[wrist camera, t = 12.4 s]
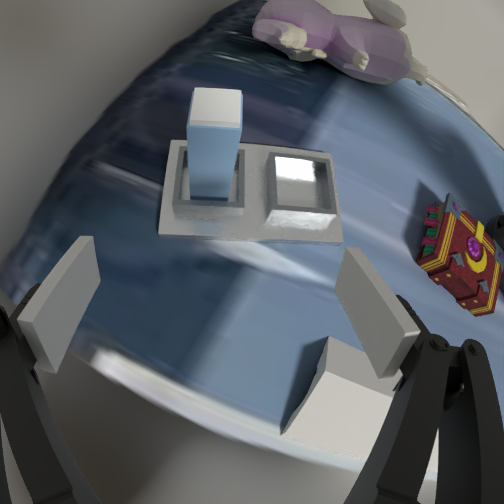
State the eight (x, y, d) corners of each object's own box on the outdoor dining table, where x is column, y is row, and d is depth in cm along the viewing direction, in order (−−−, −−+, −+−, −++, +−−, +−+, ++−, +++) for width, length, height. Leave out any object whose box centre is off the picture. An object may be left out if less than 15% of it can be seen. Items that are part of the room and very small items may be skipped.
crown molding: (278, 434, 27) (287, 445, 24) (326, 334, 31) (340, 333, 28) (443, 470, 27) (458, 476, 24) (473, 398, 31) (489, 399, 28)
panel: (328, 158, 37) (337, 145, 34) (339, 245, 34) (351, 236, 31) (171, 145, 34) (170, 129, 31) (159, 237, 31) (155, 226, 28)
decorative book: (473, 319, 35) (497, 314, 30) (406, 259, 35) (429, 248, 30) (487, 260, 38) (507, 251, 34) (426, 200, 39) (446, 185, 34)
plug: (228, 164, 33) (243, 82, 21) (227, 201, 32) (243, 125, 20) (193, 162, 32) (193, 79, 21) (190, 200, 31) (186, 121, 19)
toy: (382, 71, 54) (252, 41, 51) (403, 9, 40) (264, -29, 38) (438, 133, 36) (242, 83, 34) (479, 42, 23) (261, -39, 20)
